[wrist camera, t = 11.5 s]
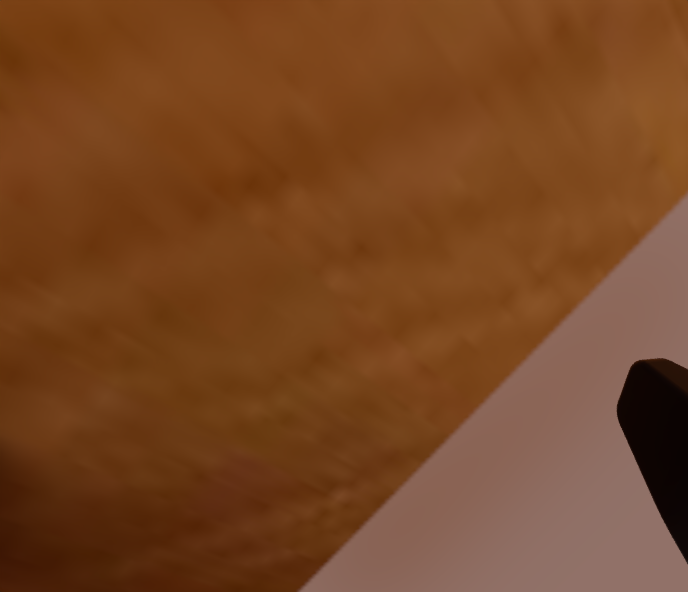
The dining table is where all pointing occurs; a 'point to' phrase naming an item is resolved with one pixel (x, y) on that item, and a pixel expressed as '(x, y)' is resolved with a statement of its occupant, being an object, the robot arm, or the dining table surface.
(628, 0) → the dining table surface
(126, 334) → the dining table surface
